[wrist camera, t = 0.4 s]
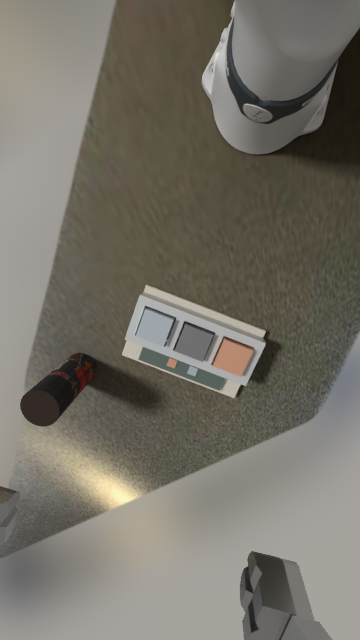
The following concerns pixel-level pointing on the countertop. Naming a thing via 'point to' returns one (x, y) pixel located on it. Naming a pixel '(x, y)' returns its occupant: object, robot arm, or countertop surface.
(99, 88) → the countertop surface
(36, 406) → the deodorant
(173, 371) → the keypad
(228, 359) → the key terracotta
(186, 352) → the key charcoal
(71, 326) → the countertop surface
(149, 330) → the key blue
